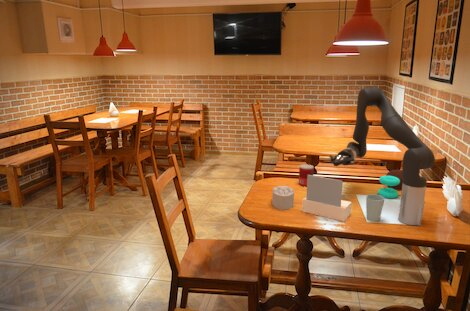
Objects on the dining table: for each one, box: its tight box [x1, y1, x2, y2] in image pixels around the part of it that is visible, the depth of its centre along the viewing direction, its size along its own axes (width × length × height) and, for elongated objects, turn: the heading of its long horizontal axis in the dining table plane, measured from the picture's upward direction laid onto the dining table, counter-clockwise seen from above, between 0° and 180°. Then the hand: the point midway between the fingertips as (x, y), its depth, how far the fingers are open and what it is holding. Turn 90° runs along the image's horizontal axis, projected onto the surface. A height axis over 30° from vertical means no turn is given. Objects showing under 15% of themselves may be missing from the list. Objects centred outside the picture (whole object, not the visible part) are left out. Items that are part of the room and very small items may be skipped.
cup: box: [365, 193, 386, 223], centre depth 164 cm, size 8×8×10 cm
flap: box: [305, 174, 344, 207], centre depth 165 cm, size 16×1×12 cm, turn 56°
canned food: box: [298, 164, 315, 188], centre depth 210 cm, size 8×8×11 cm
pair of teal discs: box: [377, 175, 400, 199], centre depth 193 cm, size 10×10×10 cm
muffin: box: [385, 169, 403, 191], centre depth 205 cm, size 12×11×10 cm
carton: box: [301, 196, 352, 222], centre depth 171 cm, size 20×10×6 cm, turn 56°
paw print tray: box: [271, 185, 295, 211], centre depth 181 cm, size 10×13×9 cm
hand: (335, 164), depth 174 cm, fingers closed
